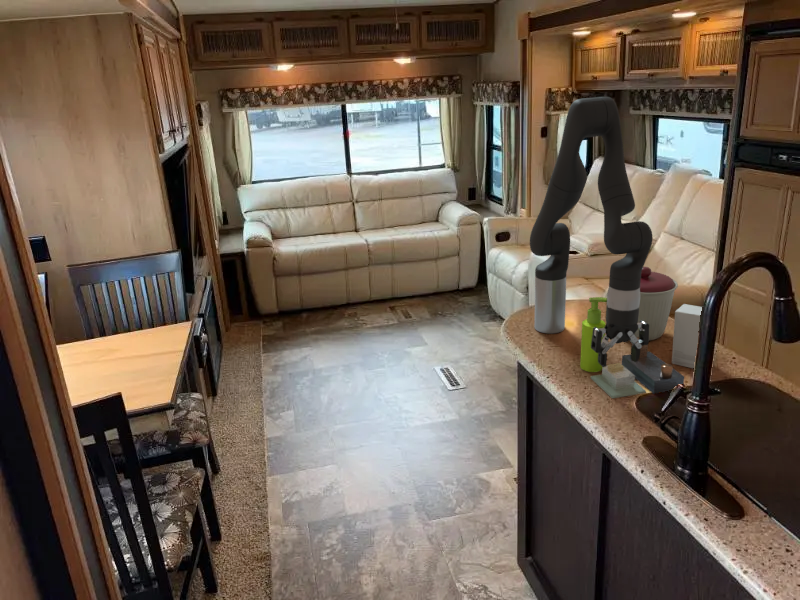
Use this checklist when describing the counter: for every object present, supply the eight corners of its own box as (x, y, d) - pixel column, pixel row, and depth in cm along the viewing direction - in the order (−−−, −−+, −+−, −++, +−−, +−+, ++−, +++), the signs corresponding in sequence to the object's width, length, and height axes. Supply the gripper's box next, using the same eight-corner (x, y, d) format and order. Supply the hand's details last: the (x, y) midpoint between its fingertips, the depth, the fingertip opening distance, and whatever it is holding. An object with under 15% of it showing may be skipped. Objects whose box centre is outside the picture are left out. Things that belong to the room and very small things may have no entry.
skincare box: (710, 362, 164) (717, 308, 158) (702, 372, 159) (708, 317, 154) (678, 354, 169) (684, 302, 164) (669, 363, 165) (674, 310, 159)
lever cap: (601, 378, 158) (602, 363, 157) (619, 375, 159) (620, 360, 158) (615, 391, 152) (616, 375, 150) (634, 388, 153) (635, 372, 151)
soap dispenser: (608, 372, 162) (612, 302, 155) (581, 371, 164) (584, 302, 156) (605, 362, 167) (609, 294, 160) (579, 361, 169) (582, 294, 162)
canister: (628, 350, 173) (633, 280, 166) (596, 326, 190) (600, 262, 183) (685, 341, 176) (693, 272, 169) (649, 319, 193) (655, 255, 186)
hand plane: (621, 367, 164) (623, 338, 161) (648, 362, 166) (651, 334, 163) (653, 393, 151) (656, 362, 148) (682, 388, 152) (686, 358, 149)
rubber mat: (590, 378, 160) (590, 376, 160) (622, 373, 161) (622, 371, 161) (612, 398, 150) (612, 396, 150) (645, 392, 151) (645, 390, 151)
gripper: (641, 294, 152) (636, 352, 158) (588, 301, 150) (584, 360, 156) (658, 305, 145) (652, 365, 151) (603, 313, 143) (599, 374, 149)
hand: (618, 363), depth 154 cm, fingers open, 8 cm apart
